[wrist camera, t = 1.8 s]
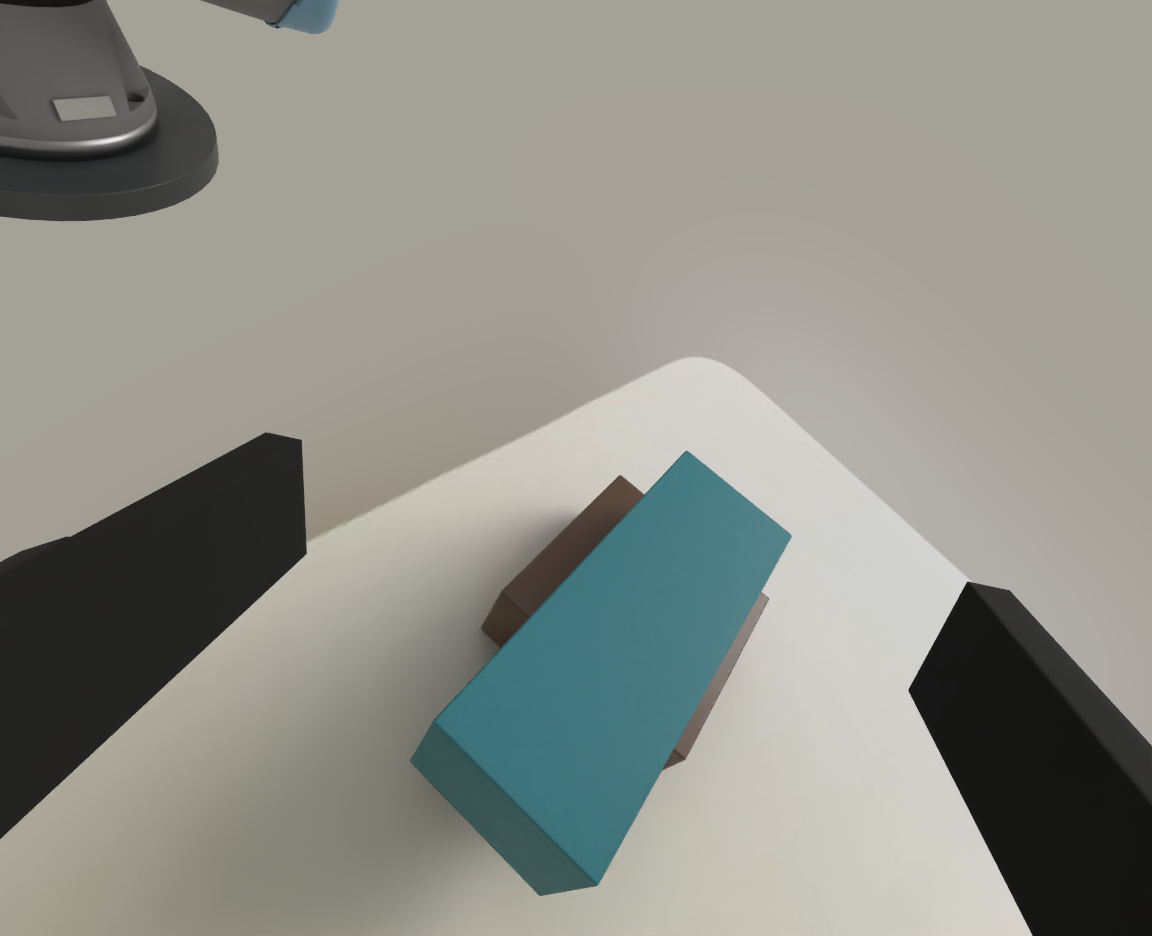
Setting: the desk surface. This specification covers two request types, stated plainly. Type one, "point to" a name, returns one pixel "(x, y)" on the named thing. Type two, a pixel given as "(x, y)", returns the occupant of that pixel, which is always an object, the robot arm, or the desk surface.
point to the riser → (564, 559)
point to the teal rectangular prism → (603, 680)
